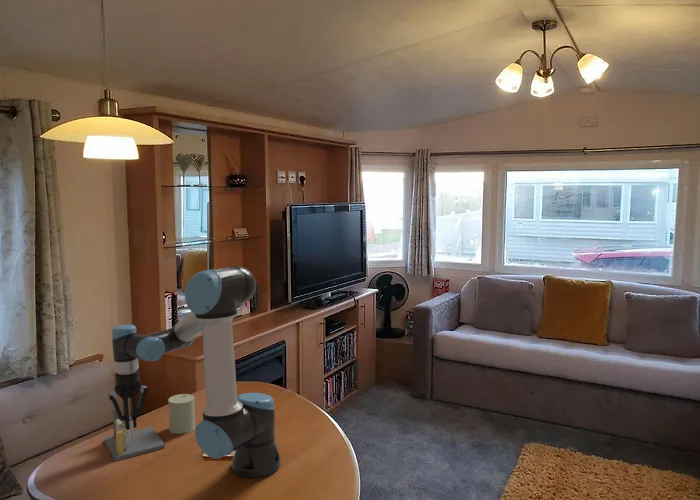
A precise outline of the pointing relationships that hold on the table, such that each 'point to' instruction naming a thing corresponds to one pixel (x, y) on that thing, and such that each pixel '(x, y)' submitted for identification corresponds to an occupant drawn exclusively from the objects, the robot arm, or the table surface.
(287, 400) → the table surface
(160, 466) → the table surface
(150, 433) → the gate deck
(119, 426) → the white framed panel
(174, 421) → the can
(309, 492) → the table surface
